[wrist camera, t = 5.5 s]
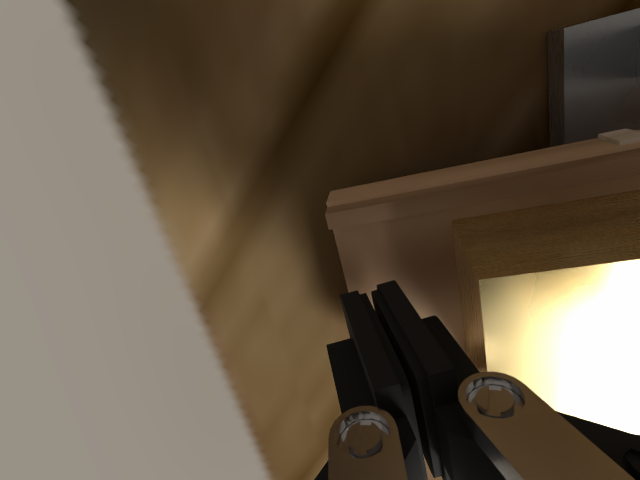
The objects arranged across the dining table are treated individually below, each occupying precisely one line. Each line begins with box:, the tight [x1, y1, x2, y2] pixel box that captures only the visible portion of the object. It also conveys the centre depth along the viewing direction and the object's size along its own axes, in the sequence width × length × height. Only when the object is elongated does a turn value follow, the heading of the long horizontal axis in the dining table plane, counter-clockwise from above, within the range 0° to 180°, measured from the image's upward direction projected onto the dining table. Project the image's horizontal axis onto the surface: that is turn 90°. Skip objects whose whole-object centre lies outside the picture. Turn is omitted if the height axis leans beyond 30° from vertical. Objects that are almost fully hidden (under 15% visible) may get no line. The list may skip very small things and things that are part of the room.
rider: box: [451, 190, 640, 434], centre depth 10 cm, size 5×6×4 cm
